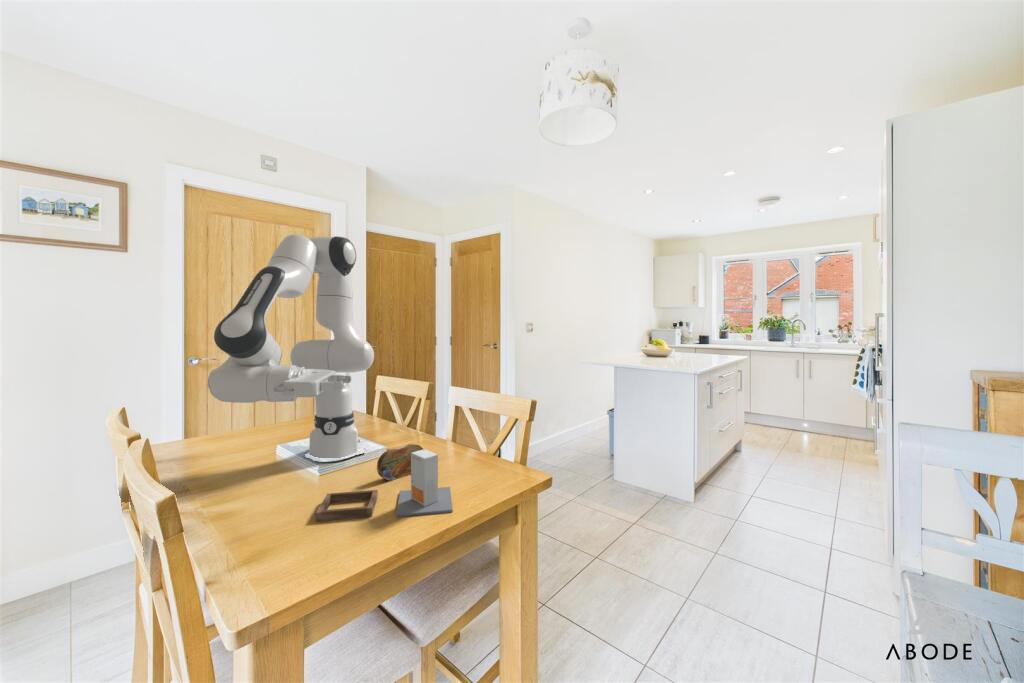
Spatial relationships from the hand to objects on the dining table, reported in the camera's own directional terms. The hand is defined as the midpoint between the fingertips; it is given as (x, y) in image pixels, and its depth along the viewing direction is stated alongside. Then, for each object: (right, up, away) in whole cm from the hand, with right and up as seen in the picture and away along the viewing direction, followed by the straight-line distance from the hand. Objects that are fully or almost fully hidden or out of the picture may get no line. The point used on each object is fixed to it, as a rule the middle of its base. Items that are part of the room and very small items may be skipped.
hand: (347, 381), depth 98 cm
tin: (+9, -30, +17) cm, 35 cm away
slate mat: (+20, -30, 0) cm, 36 cm away
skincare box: (+20, -30, -1) cm, 36 cm away
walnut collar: (+2, -30, -4) cm, 31 cm away
